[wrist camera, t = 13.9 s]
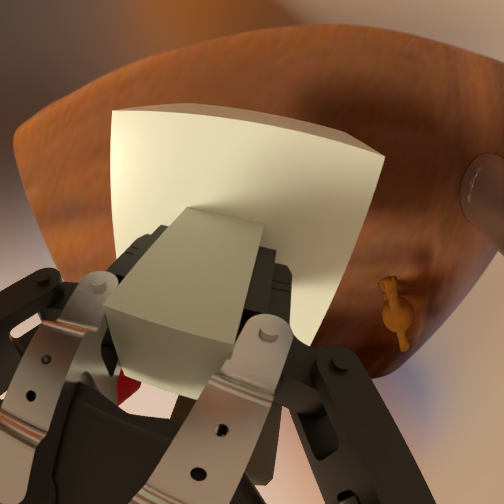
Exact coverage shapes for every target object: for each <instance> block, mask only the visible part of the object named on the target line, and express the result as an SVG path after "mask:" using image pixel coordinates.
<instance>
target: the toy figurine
mask: <svg viewBox="0 0 504 504" xmlns="http://www.w3.org/2000/svg"><path fill="white" fill-rule="evenodd" d="M379 287H380V288H381V289H382V291H383V292H384V293H383V299H384V300H385V303H384V305H383V309H382V318H383V321H384V324H385V326H386V327H387V328H388V329H389V330H390V331H392V332H397V336H398V342H399V345H400V350H401V351H402V352H404V351H407V350H408V349H410V348H411V346H410V342H411V340H410V339H409V338H408V336H407V335H406V333H407V331H406V329H407V328H409V327H410V325H411V324H412V322H413V319H414V311H413V307H412V305H411V303H410V302H409V301H408V300H407V299H405V298H402V297H399V296H398V290H397V277H396V276H391V277H387V278H384V279H382V280H380V282H379Z"/></svg>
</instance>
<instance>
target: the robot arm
mask: <svg viewBox="0 0 504 504" xmlns="http://www.w3.org/2000/svg"><path fill="white" fill-rule="evenodd" d="M460 201H461V207H462V210H463V213H464V215H465V217H466V218H467V219H468V221H469V222H470V223H471V224H473V225H474V226H475V227H476V228H477V229H478V230H479V231H480V232H481V233H482V234H483V235H484V236H485V237H486V238H487V239H488V240H489V241H490V242H491V243H492V245H493V246H494V247H495V248H496V249H497V250H498V251H499V252H500V253H501V254H502V255H503V256H504V158H502V157H500V156H498V155H495V154H493V153H485V154H482V155H480V156H478V157H477V158H475V159H474V160H473V161H472V162H471V164H470V165H469V167H468V168H467V170H466V172H465V174H464V177H463V180H462V184H461V191H460ZM168 227H169V226H166V225H160V226H159V227H158V228H157V229H156V230H155V231H154V232H153V233H152V234H145V235H143V236H141V237H139V238H137V239H136V240H135V241H134V242H133V243H132V244H131V245H130V247H128V248H127V249H126V250H125V251H124V253H122V254H121V255H120V256H119V258H118V259H117V260H116V261H115V262H114V263H113V264H112V265H111V266H110V267H109V268H108V269H107V270H106V271H96V272H92V273H90V274H88V275H86V276H85V277H83V278H82V279H81V281H80V282H79V283H73V282H62V278H61V275H60V272H59V271H58V270H56V269H54V268H43V269H40V270H38V271H36V272H34V273H32V274H30V275H28V276H27V277H25V278H23V279H21V280H20V281H18V282H16V283H14V284H12V285H11V286H9V287H7V288H5V289H4V290H2V291H1V292H0V395H2V394H3V393H4V392H6V391H7V393H6V395H5V398H4V399H3V400H1V399H0V504H266V503H265V501H264V500H263V498H262V497H261V495H260V493H259V492H258V490H257V489H256V487H255V486H254V484H253V482H252V481H251V479H250V477H249V476H248V474H247V472H246V471H245V469H246V466H247V464H248V462H249V459H250V457H251V455H252V452H253V450H254V448H255V445H256V443H257V440H258V438H259V435H260V433H261V430H262V428H263V425H264V423H265V420H266V418H267V415H268V413H269V410H270V407H271V405H272V402H273V401H274V402H276V403H278V404H280V405H282V406H284V407H286V408H288V409H289V411H290V414H291V417H292V419H293V422H294V424H295V427H296V430H297V432H298V435H299V438H300V440H301V443H302V446H303V448H304V451H305V453H306V456H307V458H308V461H309V464H310V466H311V469H312V471H313V474H314V476H315V479H316V481H317V484H318V486H319V489H320V491H321V494H322V496H323V499H324V501H325V504H436V503H435V500H434V498H433V496H432V494H431V492H430V490H429V488H428V486H427V484H426V481H425V480H424V478H423V475H422V474H421V471H420V469H419V467H418V465H417V463H416V461H415V459H414V458H413V456H412V454H411V452H410V450H409V448H408V446H407V444H406V442H405V440H404V438H403V436H402V434H401V433H400V431H399V429H398V427H397V425H396V423H395V421H394V420H393V418H392V416H391V414H390V412H389V410H388V409H387V407H386V405H385V403H384V401H383V400H382V398H381V396H380V394H379V393H378V391H377V389H376V387H375V385H374V384H373V382H372V380H371V378H370V377H369V375H368V373H367V371H366V370H365V368H364V366H363V364H362V363H361V361H360V359H359V358H358V356H357V355H356V354H355V353H354V352H352V351H351V350H349V349H348V348H345V347H343V346H338V345H331V346H327V347H325V348H323V349H322V350H321V351H319V350H317V349H314V348H312V347H310V346H308V345H306V344H304V343H302V342H301V341H300V340H299V339H297V338H296V336H295V335H294V334H293V331H292V329H291V327H290V310H291V291H292V286H291V285H292V273H291V271H290V270H289V268H288V266H287V265H283V264H278V263H275V258H276V250H274V249H270V248H266V247H261V246H259V249H258V253H257V257H256V261H255V265H254V269H253V273H252V277H251V281H250V285H249V289H248V293H247V297H246V301H245V305H244V309H243V314H242V318H241V323H240V328H239V333H238V337H237V341H236V343H235V344H234V347H233V351H232V352H230V353H229V355H228V357H227V359H226V361H225V362H224V364H223V366H222V368H221V370H220V371H219V372H218V373H214V374H213V375H212V376H211V378H210V379H209V381H208V382H207V384H206V386H205V388H204V389H203V391H202V393H201V394H200V396H199V398H198V399H197V401H196V403H195V405H194V406H193V408H192V410H191V411H190V413H189V415H188V416H187V418H186V420H185V421H184V423H181V422H177V421H174V420H171V419H164V418H155V417H147V416H140V415H133V414H129V413H126V412H125V411H123V410H122V409H120V408H119V407H118V406H117V381H118V377H119V373H120V370H121V364H120V361H119V358H118V355H117V352H116V349H115V346H114V343H113V340H112V336H111V333H110V329H109V326H108V322H107V319H106V315H105V311H104V307H103V304H104V303H105V302H106V300H107V299H108V298H109V296H110V295H111V294H112V293H113V291H114V290H115V289H116V288H117V286H118V285H119V284H120V283H121V281H122V280H123V279H124V278H125V276H126V275H127V274H128V273H129V272H130V270H131V269H132V268H133V267H134V266H135V264H136V263H137V262H138V261H139V260H140V259H141V257H142V256H143V255H144V254H145V253H146V251H147V250H148V249H149V248H150V247H151V246H152V245H153V243H154V242H155V241H156V240H157V239H158V238H159V237H160V236H161V234H162V233H163V232H164V231H165V230H166V229H167V228H168ZM36 313H38V315H39V317H40V319H41V321H42V323H41V324H39V325H38V326H36V327H35V328H33V329H32V330H30V331H29V332H27V333H26V334H24V335H23V336H21V337H19V338H13V337H12V336H11V335H10V331H11V330H12V329H13V328H14V327H15V326H17V325H19V324H20V323H21V322H23V321H25V320H26V319H28V318H30V317H31V316H33V315H34V314H36Z"/></svg>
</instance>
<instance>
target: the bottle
mask: <svg viewBox="0 0 504 504" xmlns="http://www.w3.org/2000/svg"><path fill="white" fill-rule="evenodd" d="M196 401H197V400H196V399H192V398H189V397H185V396H182V395H179V396H178V399H177V401H176V404H175V407H174V409H173V412H172V415H171V418H170V419H171V420H174V421H177V422H181V423H184V421H185V420H186V418H187V416H188V415H189V413H190V411H191V410H192V408H193V406H194V405H195V403H196ZM281 411H282V405H280V404H278V403H276V402H274V401H273V402H272V405H271V407H270V410H269V413H268V415H267V418H266V420H265V423H264V425H263V428H262V430H261V433H260V435H259V438H258V440H257V443H256V445H255V448H254V450H253V452H252V455H251V457H250V459H249V462H248V464H247V466H246V469H245V471H246V472H247V474H248V476H249V477H250V479H251V481H252V482H253V484H254V485H264V486H266V485H267V484H268V483H269V482H270V481H271V480H272V479H273V473H274V466H275V459H276V452H277V445H278V437H279V429H280V420H281Z"/></svg>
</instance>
